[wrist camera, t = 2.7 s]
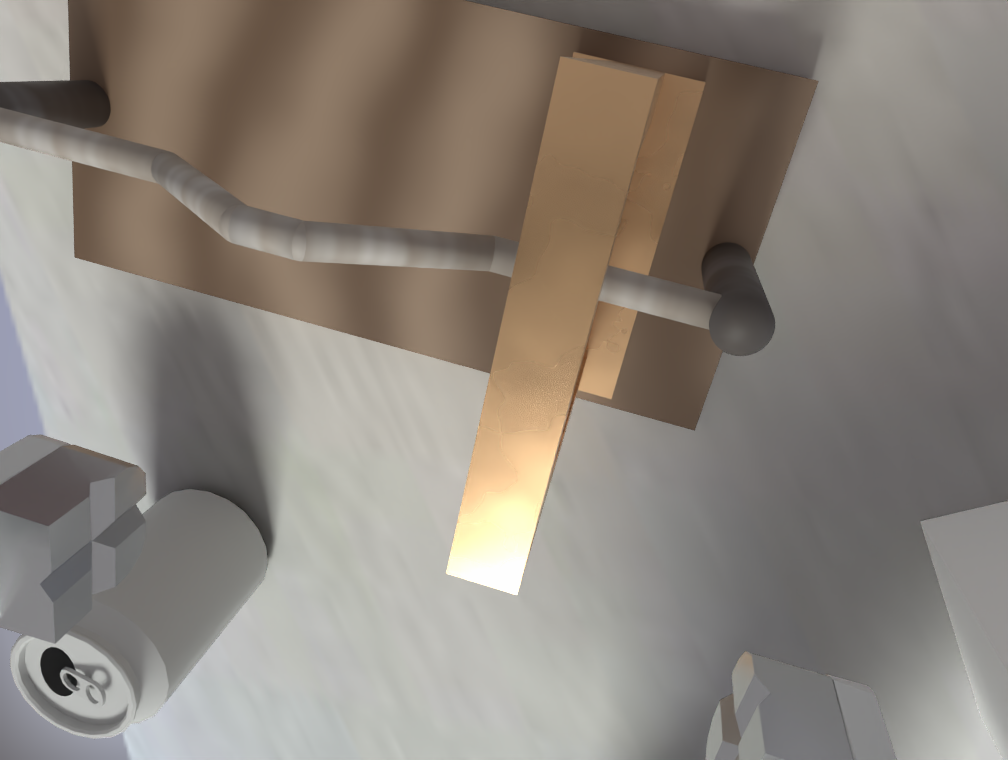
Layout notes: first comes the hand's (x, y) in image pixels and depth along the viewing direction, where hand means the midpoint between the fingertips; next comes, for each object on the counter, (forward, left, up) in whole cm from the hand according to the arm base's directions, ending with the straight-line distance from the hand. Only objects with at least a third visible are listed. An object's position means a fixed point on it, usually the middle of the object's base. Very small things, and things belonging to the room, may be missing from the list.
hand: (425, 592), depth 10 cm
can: (+17, +23, -26) cm, 39 cm away
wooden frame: (0, 0, -24) cm, 24 cm away
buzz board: (+9, 0, -26) cm, 27 cm away
